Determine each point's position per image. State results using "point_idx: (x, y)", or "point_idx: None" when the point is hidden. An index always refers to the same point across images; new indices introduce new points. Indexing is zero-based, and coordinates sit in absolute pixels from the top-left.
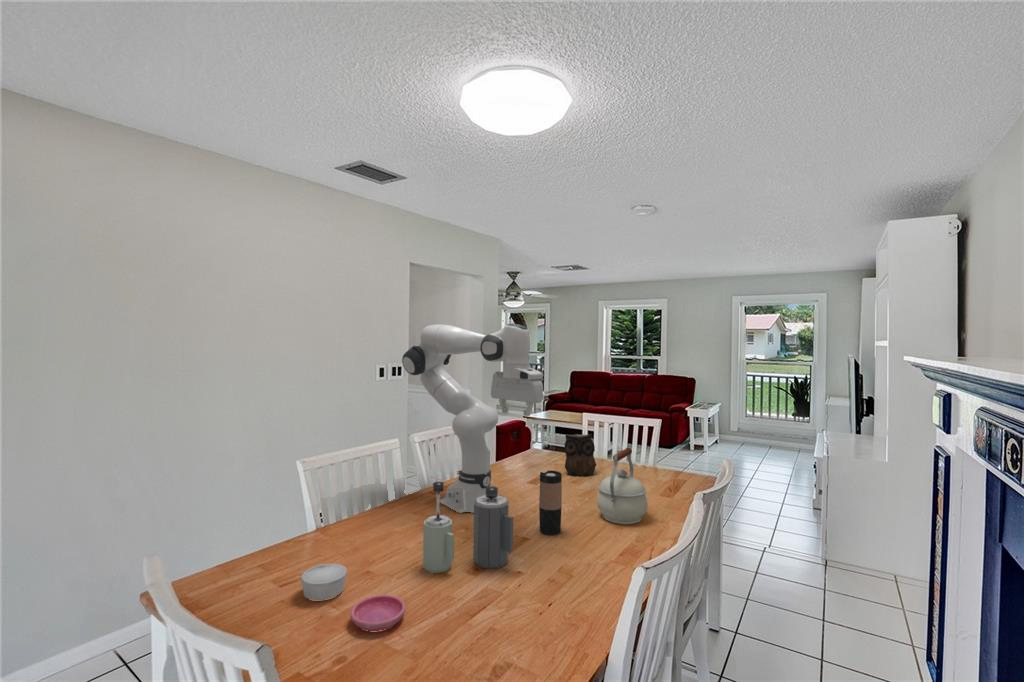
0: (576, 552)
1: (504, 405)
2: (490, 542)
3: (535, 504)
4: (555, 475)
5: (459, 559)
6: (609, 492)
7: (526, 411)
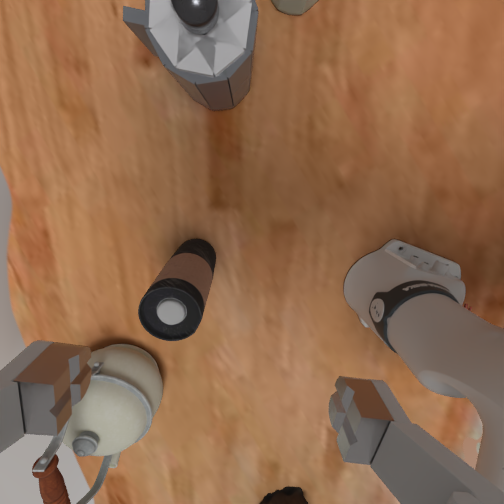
0: (109, 200)
1: (399, 469)
2: None
3: (282, 349)
4: (157, 315)
5: (274, 42)
6: (105, 380)
7: (5, 370)
